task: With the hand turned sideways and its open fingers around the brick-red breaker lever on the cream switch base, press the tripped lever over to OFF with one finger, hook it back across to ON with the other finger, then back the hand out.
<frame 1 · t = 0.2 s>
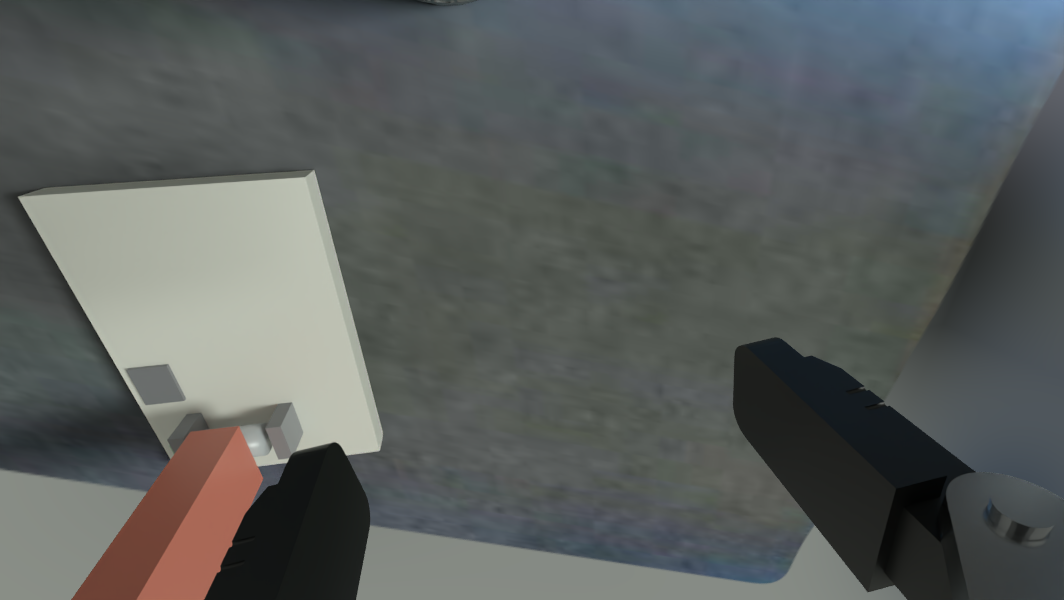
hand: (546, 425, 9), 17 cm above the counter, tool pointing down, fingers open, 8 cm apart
breaker base: (256, 406, 29), on the counter
breaker lever: (184, 532, 21), point 9 cm above the counter, hinge at 0.0°
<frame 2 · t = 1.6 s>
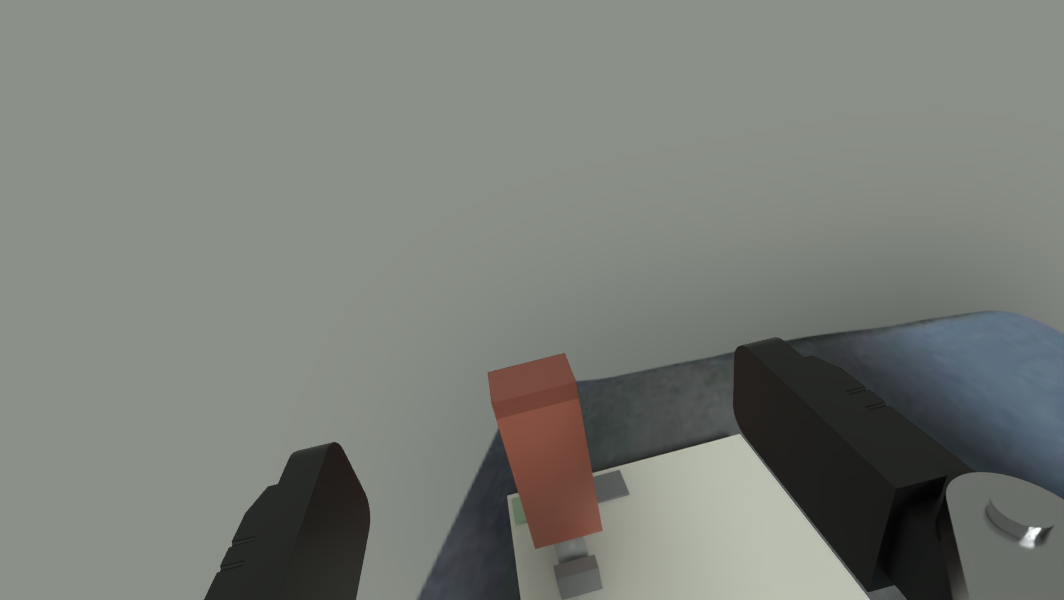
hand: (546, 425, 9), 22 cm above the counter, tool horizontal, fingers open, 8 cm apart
breaker base: (574, 561, 29), on the counter
breaker lever: (551, 469, 25), point 9 cm above the counter, hinge at 0.0°
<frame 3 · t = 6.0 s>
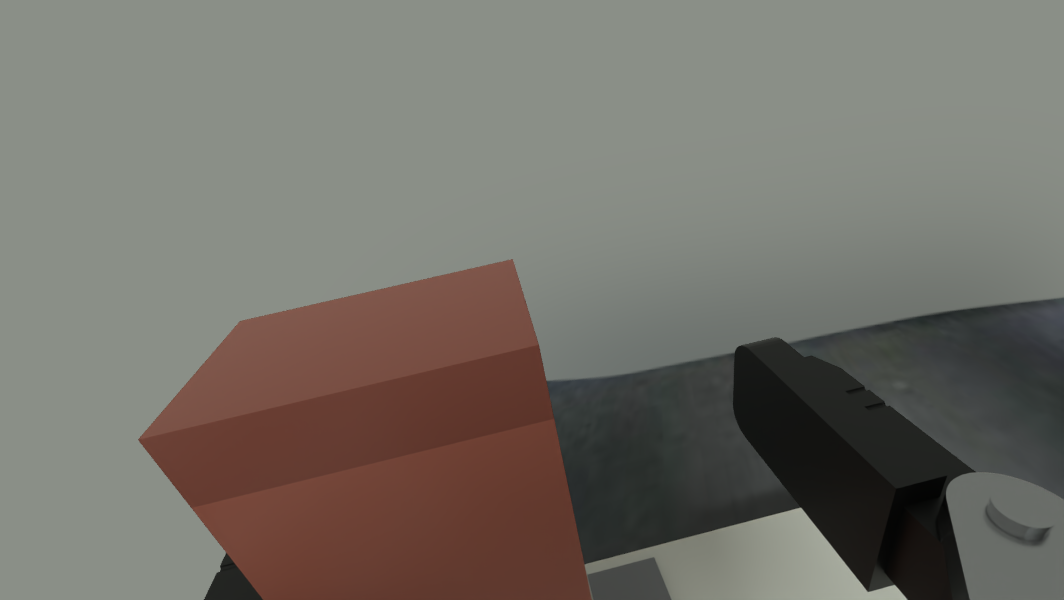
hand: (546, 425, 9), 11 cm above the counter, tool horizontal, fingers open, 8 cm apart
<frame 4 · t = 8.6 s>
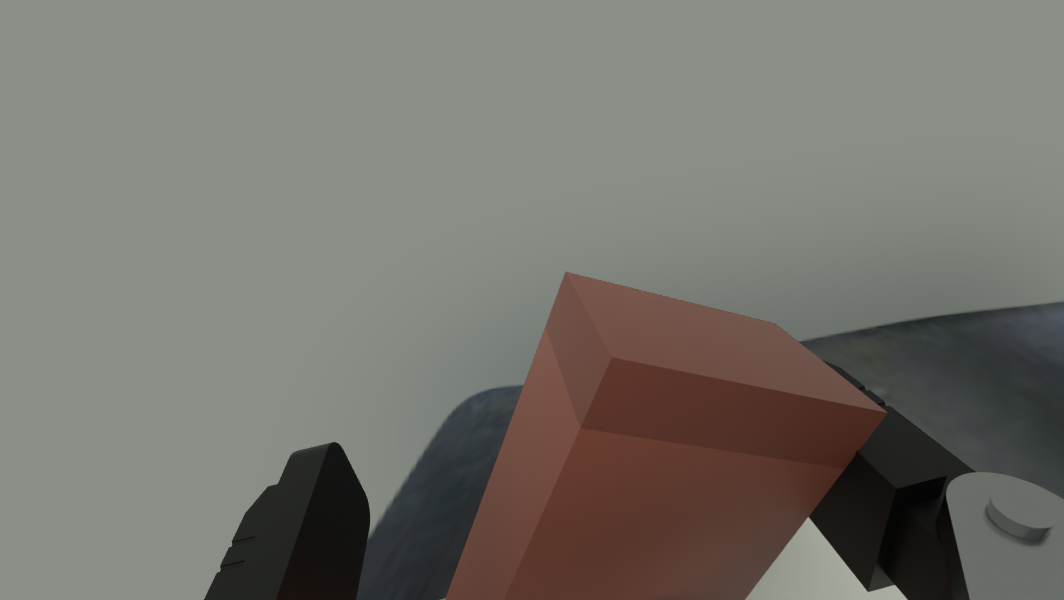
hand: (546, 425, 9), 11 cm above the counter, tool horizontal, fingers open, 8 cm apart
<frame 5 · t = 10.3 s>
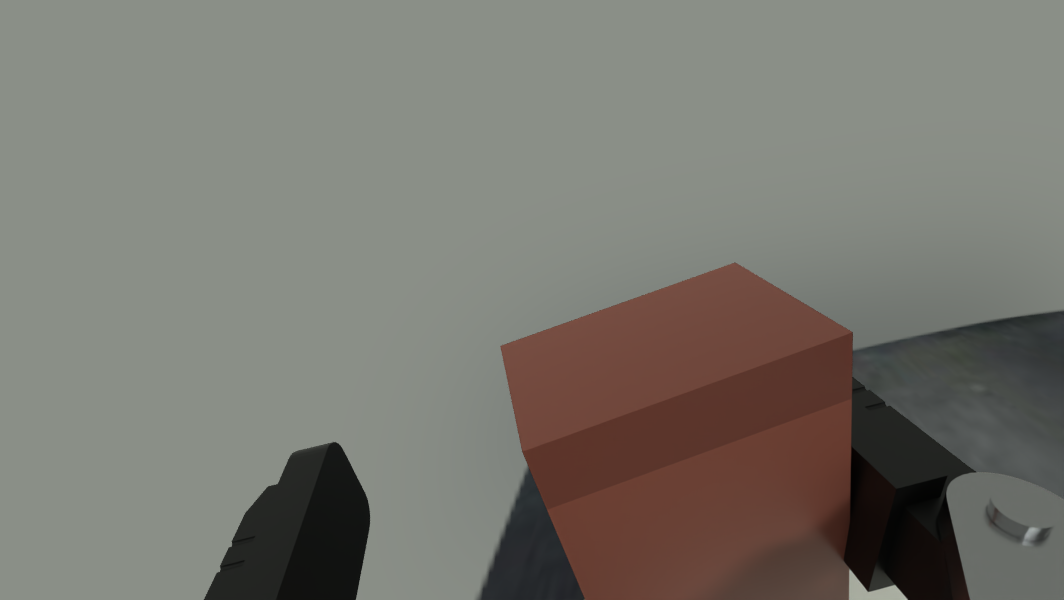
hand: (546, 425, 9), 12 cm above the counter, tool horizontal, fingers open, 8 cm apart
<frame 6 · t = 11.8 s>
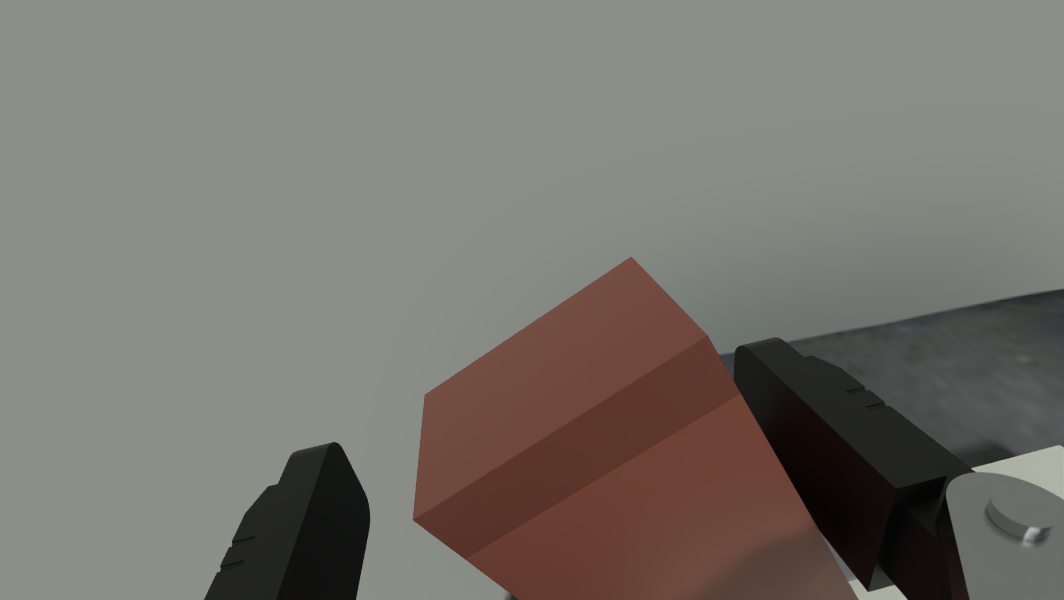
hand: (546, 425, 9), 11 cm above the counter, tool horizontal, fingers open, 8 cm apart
breaker lever: (715, 581, 9), point 8 cm above the counter, hinge at 23.6°
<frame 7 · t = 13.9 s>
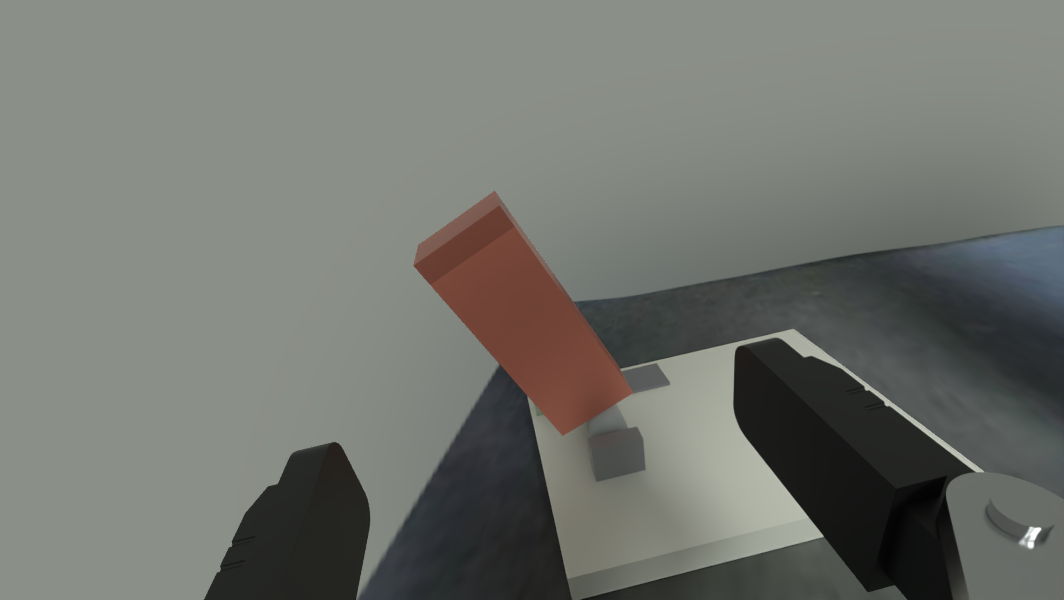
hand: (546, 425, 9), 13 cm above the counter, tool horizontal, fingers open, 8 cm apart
breaker base: (606, 454, 25), on the counter
breaker lever: (542, 337, 21), point 8 cm above the counter, hinge at 23.6°
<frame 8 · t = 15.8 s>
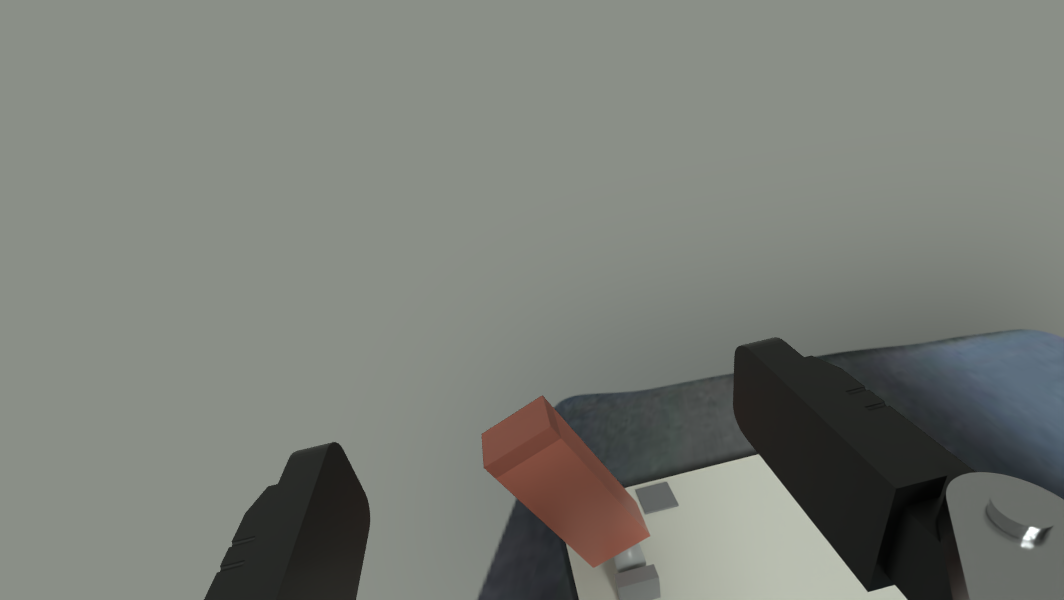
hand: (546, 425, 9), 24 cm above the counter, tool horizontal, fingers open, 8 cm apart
breaker base: (627, 570, 30), on the counter
breaker lever: (578, 495, 27), point 8 cm above the counter, hinge at 23.6°
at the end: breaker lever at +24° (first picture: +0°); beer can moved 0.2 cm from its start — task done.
